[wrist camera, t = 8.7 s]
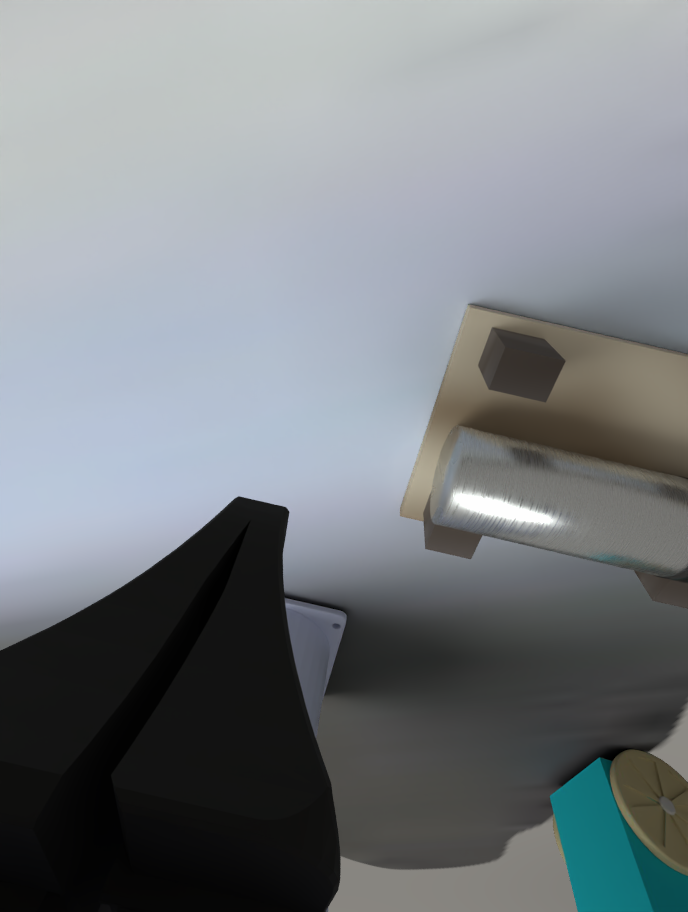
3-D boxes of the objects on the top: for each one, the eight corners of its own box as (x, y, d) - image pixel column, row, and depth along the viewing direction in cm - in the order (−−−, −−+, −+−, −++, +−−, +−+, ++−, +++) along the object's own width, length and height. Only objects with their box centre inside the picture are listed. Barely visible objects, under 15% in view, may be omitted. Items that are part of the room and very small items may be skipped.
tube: (737, 515, 20) (838, 493, 16) (746, 607, 19) (858, 607, 15) (438, 445, 20) (468, 407, 16) (424, 532, 19) (454, 513, 15)
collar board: (675, 571, 22) (720, 633, 19) (400, 508, 22) (399, 560, 19) (830, 386, 17) (928, 430, 13) (468, 304, 16) (483, 329, 13)
